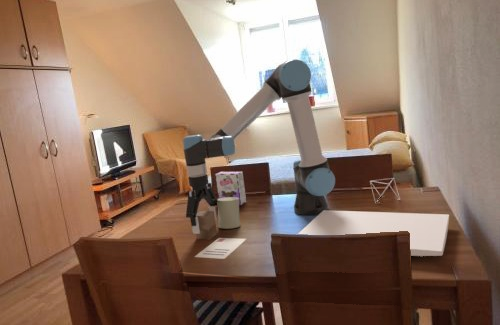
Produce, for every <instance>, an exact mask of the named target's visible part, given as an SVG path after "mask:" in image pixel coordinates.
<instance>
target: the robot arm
mask: <svg viewBox="0 0 500 325" xmlns="http://www.w3.org/2000/svg"><path fill="white" fill-rule="evenodd" d="M311 78H312V72H311V68H310V67H309V64H307V63H306V62H304V61H303V60H301V59H289V60H286V61H285V62H283V63H281V64H279V65H278V66H277V67H276V68H275V69H274V70H273V72H272V73H271V75H270V76H268V78H267V79H266V80H265V81H264V82H263V85H262V86H263V87H261V88H260V89H259V90H258V91H257V92H256V94H254V95H253V96H252V97H251V98H250V99H249V100H248V101H247V102H246V103H245V104H244V105H243V106H242V107H241V108H240V109H239V110H238V111H237V112H236V113H235V114H234V115H233V116H232V117H231V118H230V119H229V120H228V121H227V122H226V123H224V125H223V126H222V127H220V129H218V131H216V133H215V134H213V135H211V136H210V138H203V137H202V135H201V134H193V135H191V134H190V135H187V136H184V137H183V139H182V145H183V154H184V159H185V165H186V169H187V170H186V171H187V172H186V173H187V176H188V178H187V179H188V184H189V185H188V186H189V187H191V188H192V190H188V191H187V201H186V202H187V203H186V214H185V217H186V218H187V219H188V218H189V219H190V226H191V230H192V233H193V234H195V235H196V234H199V233H200V230H199V223H198V217H196V214H197V213H198V210H199V205H200V202H201V201H202V200H203V199H204V200H205V201H206V204H208V205H209V206H208V207H207V208H208V211H214V216H215V223H217V222H218V218H217V217H218V216H217V210H216V206H217V207H218V203H217V202H218V201H217V199H218V198H217V196H216V194H215V192H214V190H213V187H212V184H211V182H209V176H208V174H207V173H208V169H207V162H206V159H213V158H219V157H220V158H221V157H228V156H233V155H234V154H235V153H236V147H235V140H236V139H237V138H238V137H239V136H240V135H241V134H243V132H244V131H246V130H247V128H249V127H250V126H251V125H252V124H253V123H254V122H255V121H256V120H257V119H258V118H259V117H260V116H261V115H262V114H263V113H264V112H265V111H266V110H267V109H268V108H269V107H270V106H271V105H272V104H273V103H274V102H275V101H280V100H281V99H282V100H283V101H284V102H286V103H287V106H288V111H289V115H290V120H291V124H292V127H293V132H294V136H295V140H296V144H297V148H298V152H299V156H300V160H295V161H293V163H292V164H293V167H292V169H293V176H294V183H295V193H296V195H295V201H294V204H293V210H294V213H295V214H297V215H302V216H312V215H319V214H320V213H321V212H322V211H323V210H330V209H329V203H328V201H327V198H326V195H328V194H329V193H331V192H332V190H333V189H334V187H335V184H336V177H335V174H334V173H333V171H332V169H331V170H330V166H329V162H328V158H327V157H325V156H324V155H323V153H322V148H321V144H320V139H319V134H318V132H317V131H318V130H317V126H316V122H315V118H314V115H313V114H314V112H313V109H312V105H311V100H310V95H311V93H312V92H313V91H312V87H311Z"/></svg>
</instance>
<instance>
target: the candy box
mask: <svg viewBox="0 0 500 325" xmlns="http://www.w3.org/2000/svg"><path fill="white" fill-rule="evenodd" d="M214 175H215V182H216V189H217V195H218V196H217V197H218V199H219V198H225V197H237V198H239V206H242V205H244V204H246V203H247V196H246V188H245V180H244V174H243V171H219V172H217V173H215V174H214Z"/></svg>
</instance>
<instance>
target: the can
mask: <svg viewBox="0 0 500 325" xmlns="http://www.w3.org/2000/svg"><path fill="white" fill-rule="evenodd" d="M217 201H218V202H217V215H218V216H217V217H218V218H217V220H218V228H220V229H225V230H226V229H227V230H228V229H230V230H231V229H235V228H239V227H240V226H241V220H240V218H241V217H240V205H239V198H237V197H225V198H219V197H218V198H217Z"/></svg>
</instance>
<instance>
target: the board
mask: <svg viewBox="0 0 500 325" xmlns="http://www.w3.org/2000/svg"><path fill="white" fill-rule="evenodd" d="M449 222H450V214H448V213H447V214H443V213H441V214H440V213H418V212H417V213H416V212H415V213H413V212H386V211H382V212H381V211H358V210H357V211H355V210H353V211H352V210H331V209H328V210H323V211H322V212H321V213H320V214H317V216H316V217H314V218H313V219H312V220H311V221H310V222H309V223H308V224H307V225H306V226H304V227H303V229H302V230H300V231H299V232H298V233H297V234H308V235H345V234H366V233H380V232H399V231H408V232H409V233H410V250H411V256H413V257H419V256H420V258H423V256H424V257H427V256H428V257H431V256H433V257H437V256H438V257H439V256H440V257H441V256H443V255H444V251H445V247H446V242H447V237H448V230H449Z"/></svg>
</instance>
